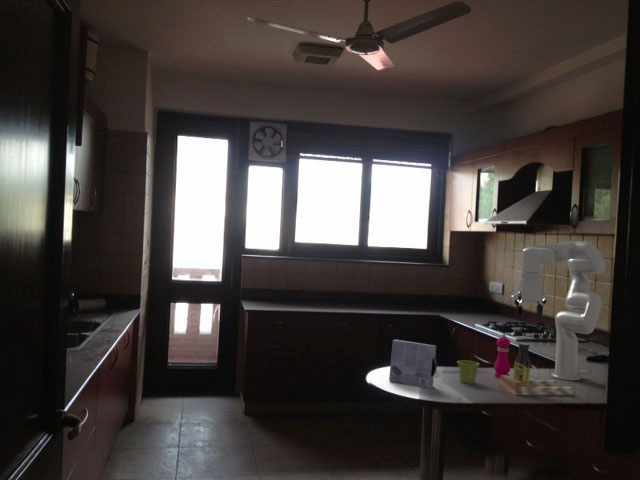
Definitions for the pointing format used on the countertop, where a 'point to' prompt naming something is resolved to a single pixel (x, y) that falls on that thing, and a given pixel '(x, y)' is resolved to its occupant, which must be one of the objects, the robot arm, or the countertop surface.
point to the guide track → (533, 387)
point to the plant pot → (467, 371)
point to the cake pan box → (413, 363)
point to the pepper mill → (502, 357)
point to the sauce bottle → (522, 365)
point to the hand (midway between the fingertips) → (529, 315)
